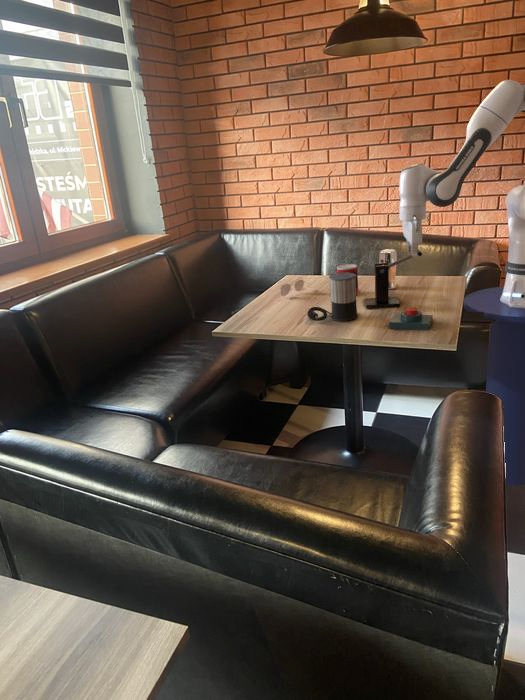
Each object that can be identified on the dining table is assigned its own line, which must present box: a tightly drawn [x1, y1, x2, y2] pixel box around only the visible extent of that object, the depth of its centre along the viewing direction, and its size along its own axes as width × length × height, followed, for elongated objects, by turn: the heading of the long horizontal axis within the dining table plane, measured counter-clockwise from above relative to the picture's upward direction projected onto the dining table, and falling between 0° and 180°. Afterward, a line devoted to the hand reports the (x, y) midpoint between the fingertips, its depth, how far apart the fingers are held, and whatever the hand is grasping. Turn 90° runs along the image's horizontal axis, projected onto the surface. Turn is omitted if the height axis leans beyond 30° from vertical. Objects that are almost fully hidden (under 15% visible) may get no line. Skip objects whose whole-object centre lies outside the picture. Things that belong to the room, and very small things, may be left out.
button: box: [405, 307, 418, 315], centre depth 171 cm, size 4×4×2 cm
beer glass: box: [378, 248, 398, 290], centre depth 215 cm, size 7×7×15 cm
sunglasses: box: [279, 279, 318, 300], centre depth 219 cm, size 14×8×5 cm, turn 127°
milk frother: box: [306, 273, 359, 322], centre depth 185 cm, size 14×16×15 cm
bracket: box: [364, 262, 401, 309], centre depth 195 cm, size 12×9×15 cm
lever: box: [383, 249, 423, 268], centre depth 191 cm, size 16×5×2 cm, turn 84°
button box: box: [389, 310, 434, 331], centre depth 172 cm, size 12×9×4 cm
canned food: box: [336, 263, 359, 295], centre depth 214 cm, size 8×8×11 cm
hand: (412, 253), depth 190 cm, fingers open, 8 cm apart
